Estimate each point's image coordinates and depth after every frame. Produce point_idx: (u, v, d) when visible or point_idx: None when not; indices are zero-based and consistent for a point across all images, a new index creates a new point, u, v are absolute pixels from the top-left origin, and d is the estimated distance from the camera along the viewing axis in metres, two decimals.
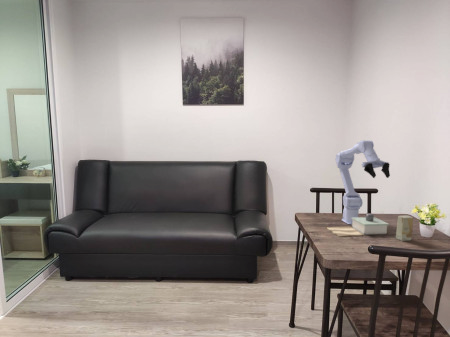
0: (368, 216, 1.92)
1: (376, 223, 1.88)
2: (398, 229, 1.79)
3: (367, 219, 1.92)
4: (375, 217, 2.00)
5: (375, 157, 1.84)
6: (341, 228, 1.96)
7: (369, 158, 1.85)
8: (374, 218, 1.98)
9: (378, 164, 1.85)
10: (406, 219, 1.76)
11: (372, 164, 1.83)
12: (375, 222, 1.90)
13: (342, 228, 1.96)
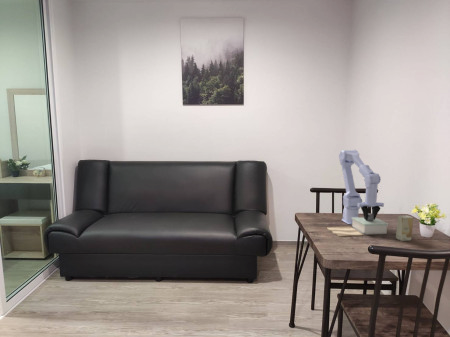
0: (368, 216, 1.92)
1: (376, 223, 1.88)
2: (398, 229, 1.79)
3: (367, 219, 1.92)
4: None
5: (373, 201, 1.89)
6: (341, 228, 1.96)
7: (367, 199, 1.91)
8: None
9: None
10: (406, 219, 1.76)
11: None
12: (375, 222, 1.90)
13: (342, 228, 1.96)
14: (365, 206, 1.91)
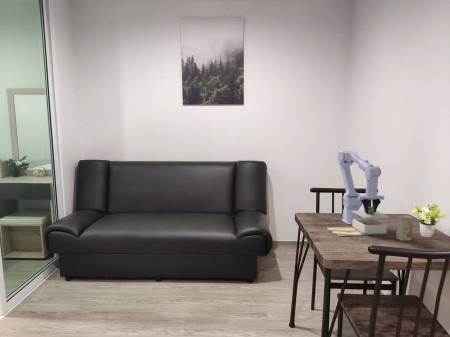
0: (368, 209, 1.91)
1: (377, 216, 1.87)
2: (398, 229, 1.79)
3: None
4: None
5: (373, 194, 1.89)
6: (341, 228, 1.96)
7: (368, 192, 1.90)
8: None
9: None
10: (406, 219, 1.76)
11: None
12: (375, 215, 1.89)
13: (342, 228, 1.96)
14: (365, 199, 1.91)
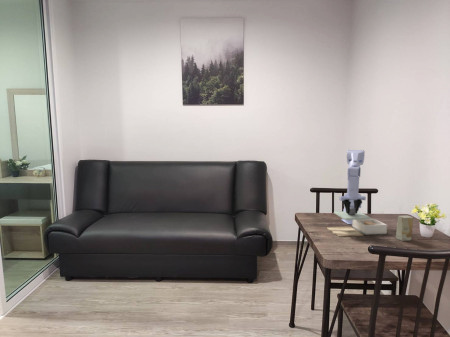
0: (350, 210, 1.89)
1: (358, 217, 1.85)
2: (398, 229, 1.79)
3: (349, 213, 1.90)
4: (358, 211, 1.97)
5: (355, 194, 1.87)
6: (341, 228, 1.96)
7: (349, 192, 1.88)
8: (357, 212, 1.95)
9: None
10: (406, 219, 1.76)
11: (349, 199, 1.89)
12: (357, 216, 1.87)
13: (342, 228, 1.96)
14: (347, 199, 1.88)
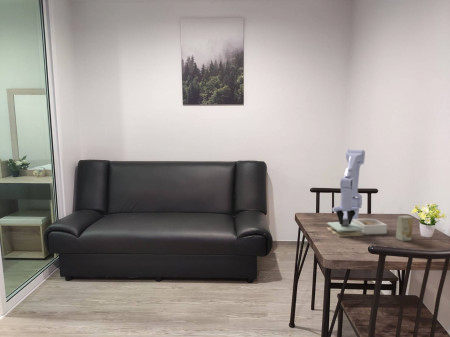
0: (343, 221, 1.89)
1: (350, 228, 1.85)
2: (398, 229, 1.79)
3: (342, 224, 1.90)
4: None
5: (348, 205, 1.87)
6: None
7: (342, 203, 1.88)
8: None
9: None
10: (406, 219, 1.76)
11: (342, 210, 1.89)
12: (350, 227, 1.87)
13: None
14: (340, 210, 1.89)
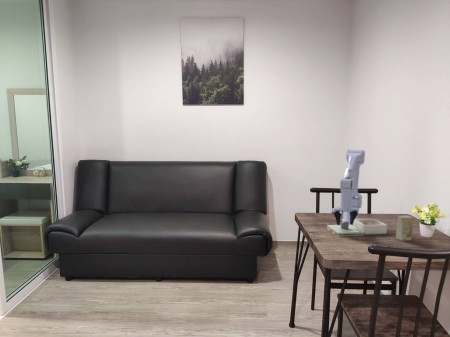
0: (343, 224, 1.89)
1: (350, 231, 1.85)
2: (398, 229, 1.79)
3: (342, 227, 1.90)
4: (351, 225, 1.97)
5: (348, 206, 1.87)
6: None
7: (342, 204, 1.88)
8: (350, 226, 1.95)
9: None
10: (406, 219, 1.76)
11: None
12: (349, 230, 1.87)
13: None
14: (340, 211, 1.89)
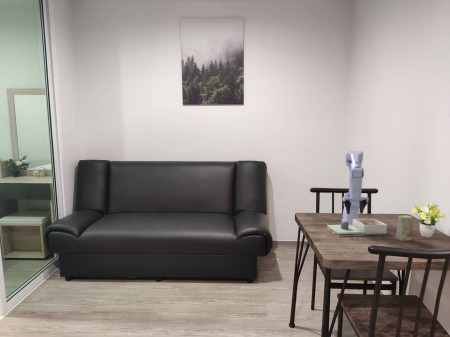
0: (343, 224, 1.89)
1: (350, 231, 1.85)
2: (398, 229, 1.79)
3: (342, 227, 1.90)
4: (351, 225, 1.97)
5: (358, 195, 1.90)
6: None
7: (352, 193, 1.91)
8: (350, 226, 1.95)
9: None
10: (406, 219, 1.76)
11: None
12: (349, 230, 1.87)
13: None
14: (350, 200, 1.92)
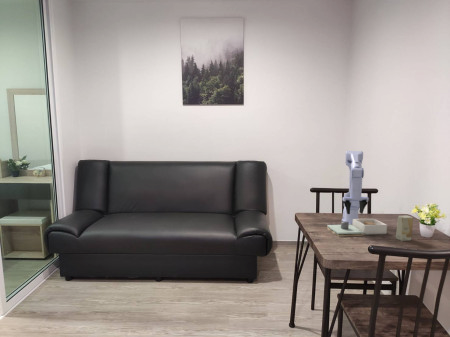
0: (343, 224, 1.89)
1: (350, 231, 1.85)
2: (398, 229, 1.79)
3: (342, 227, 1.90)
4: (351, 225, 1.97)
5: (358, 195, 1.90)
6: None
7: (352, 193, 1.91)
8: (350, 226, 1.95)
9: None
10: (406, 219, 1.76)
11: None
12: (349, 230, 1.87)
13: None
14: (350, 200, 1.92)
